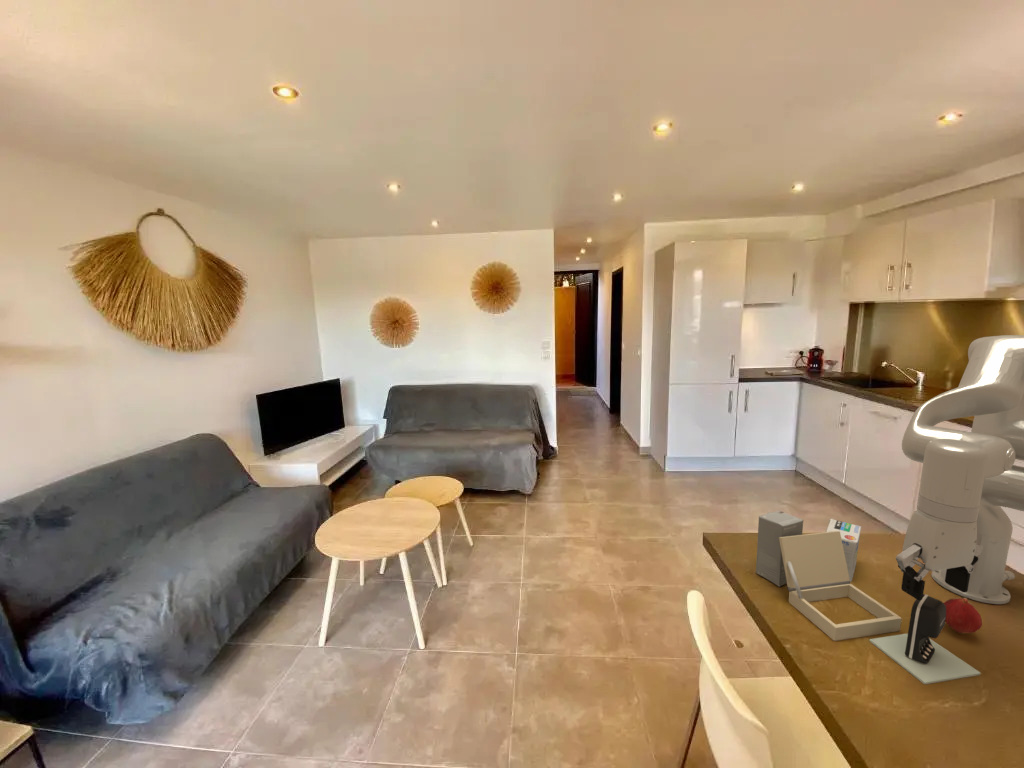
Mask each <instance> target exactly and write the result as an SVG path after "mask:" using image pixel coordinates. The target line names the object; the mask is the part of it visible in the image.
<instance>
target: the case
mask: <svg viewBox="0 0 1024 768" xmlns="http://www.w3.org/2000/svg"><path fill="white" fill-rule="evenodd" d="M779 541H780V547H781V552H782V558H783V563H784V569H785V574H786V580H787V583H786V585H787V590H788V591H789V595H788V603H789V604H791V605H792V606H793V607H794V608H795V609H796V610H798V611H799V613H801V614H802V615H803V616H804V617H806V618H807V619H808V620H809V621H811V623H813V624H814V625H815V626H816V627H817V628H819V629H820V630H821V631H822V632H823V633H825V634H826V635H827V636H828V637H829V638H830V639H831V640H832V641H834V642H835V641H842V640H849V639H856V638H861V637H862V638H863V637H868V636H875V635H881V634H888V633H895V632H901V626H902V625H901V624H902V619H903V618H902V617H901V616H899V615H898V614H896V613H895V612H894V611H892V610H891V609H889V608H888V607H886V606H885V605H883V604H882V603H880V602H879V601H877V600H876V599H874V598H873V597H872V596H870V595H868V594H867V593H865V592H863V590H861V589H859V588H858V587H856V586H855V585H853V584H852V583H851V581H850V578H849V574H848V569H847V564H846V559H845V554H844V549H843V544H842V539H841V535H840V531H832V532H826V531H824V532H823V531H822V532H815V533H805V534H802V535H795V536H786V537H779ZM839 598H840V599H841V598H849V599H851V600H852V601H853V602H855V603H856V604H857V605H859V607H860V606H861V607H862V608H863V609H865V611H867V612H869V613H870V614H872V615H873V616H874V617H875V618H871V619H864V620H857V621H851V622H842V623H838V624H837V623H834V622H833V621H832V620H831V619H830V618H828V617H827V616H826V615H824V614H823V613H822V612H821V611H819V609H817V608H816V607H815V606H814V605H812V604H811V602H819V601H824V600H831V599H833V600H834V599H839Z"/></svg>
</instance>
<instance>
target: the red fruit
mask: <svg viewBox="0 0 1024 768" xmlns="http://www.w3.org/2000/svg"><path fill="white" fill-rule="evenodd" d="M968 599H969V598H966V597H962V598H952V599H948V600H946V601H944V602H943V603H944V604H945V606H946V620H945V624H947V625H948V627H950V628H951V629H953V631H954V632H955V633H958V634H973V633H976V632H978V631H979V630H980V629H981V628H982V626H983V621H982V617H981V614H980V613H979V611H978V610H977V609H976V608H975V607H974V606H973V605H972V604H971V603H969V600H968Z"/></svg>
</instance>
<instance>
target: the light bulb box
mask: <svg viewBox="0 0 1024 768" xmlns="http://www.w3.org/2000/svg"><path fill="white" fill-rule="evenodd" d="M832 531H840V535H841V539H842V544H843V549H844V554H845V559H846V564H847V569H848V574H849V578H850V582H852V581H853V578H854V574H855V571H856V570H855V569H856V566H857V560H858V559H857V558H858V552H859V544H860V537H861V531H862V526H860V525H857V524H853V523H848V522H845V521H840V520H837V519H834V518H829V520H828V525H827V528H826V530H825V532H832Z"/></svg>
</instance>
